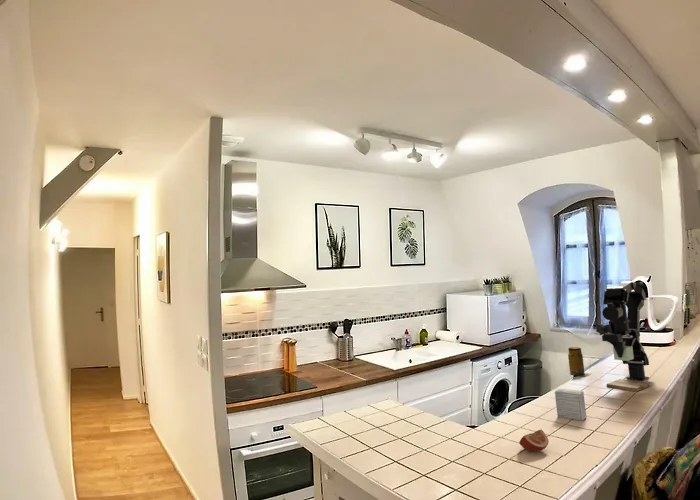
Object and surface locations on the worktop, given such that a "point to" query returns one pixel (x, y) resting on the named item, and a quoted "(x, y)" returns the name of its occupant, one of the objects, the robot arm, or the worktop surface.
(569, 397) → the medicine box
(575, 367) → the condiment
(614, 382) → the walnut board
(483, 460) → the worktop surface
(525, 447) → the fruit slice
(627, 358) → the sage cube
